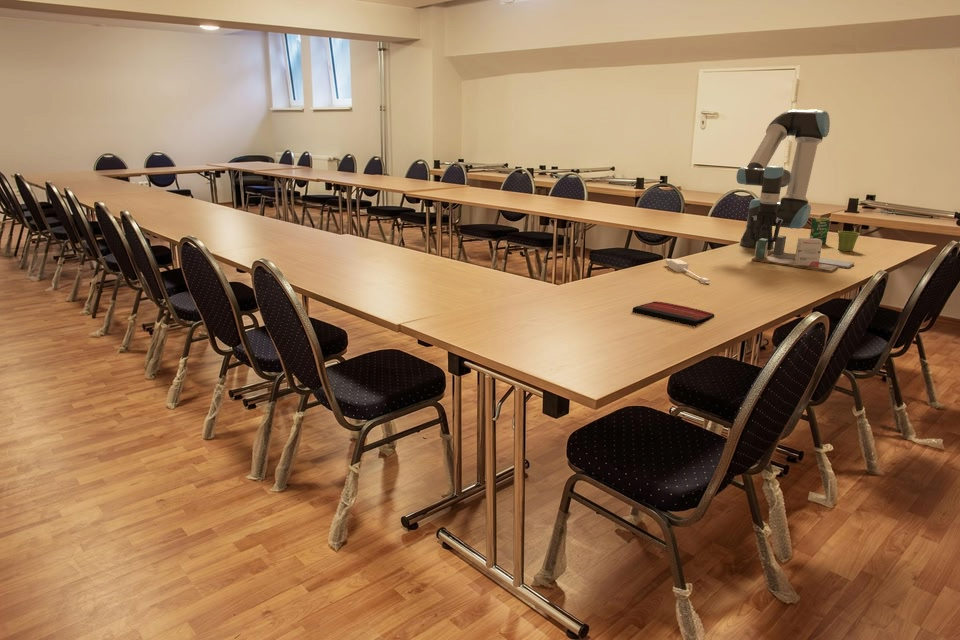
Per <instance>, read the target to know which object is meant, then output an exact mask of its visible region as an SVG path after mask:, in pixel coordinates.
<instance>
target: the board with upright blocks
mask: <svg viewBox="0 0 960 640" xmlns="http://www.w3.org/2000/svg"><path fill="white" fill-rule="evenodd" d="M767 242H768V239H763V238H761V239H758V243H757V249H756V248H755V249H756V256H754V257H752V258H751V261H755V262H761V263H767V264H774V265H780V266H787V267H794V268H801V269H807V270H814V271H819V272H825V273H832V272H834V271H836V270H838V268H839V267H838V266H832V265H825V264H819V265H818V266H807V265H797V264H795V263H794V262H795V260H791V259H784V258H777V257H771V256H770V255H768V256H767V257H766V258H764V252H765V245H766V243H767Z"/></svg>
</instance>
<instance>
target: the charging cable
mask: <svg viewBox="0 0 960 640" xmlns="http://www.w3.org/2000/svg"><path fill="white" fill-rule="evenodd" d="M664 264H666V265H668V268H669V269H671V270H672V271H675V273H677V272H678V273H679V272H686V273H687V274H690V275H692V276H693V277H695V278H697V279H699V283H701V284H703V285H704V284H709V285H710V284H711V281H710V279H709V278H707V277H701V276H699V275H697V274H695V273H694V272H692V271H691V270H689V264H688V262H686V261H683V260H682V259H676V258H672V259H671V258H667V259H666V258H665V263H664Z"/></svg>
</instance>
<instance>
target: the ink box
mask: <svg viewBox="0 0 960 640" xmlns="http://www.w3.org/2000/svg"><path fill="white" fill-rule="evenodd" d="M822 247H823V244H822V240H820V239H810V237H809V238H807V237H805V238H803V237H802V238H801V237H798V238H797V244H796V250H795V254H796V256H795V262H794V263H795V264H797V265H807V266H818V265H819V259H820V258H821V251H822Z"/></svg>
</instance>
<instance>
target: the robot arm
mask: <svg viewBox="0 0 960 640" xmlns="http://www.w3.org/2000/svg"><path fill="white" fill-rule="evenodd" d="M830 125H831V123H830V115H829V112H828V111H826V110H822V109H791V110H787V111H784V112H782V113H781V114H779V115H778V116H776V117H775V118H774V119H773V120H772V121H771V122H770V123H769V124H768V125H767V128H766V129H765V135H764V137H763V139H762V141H761V142H760V144H759V145H758V148H757V150H756V151H755V153H754V154H753V156H752V158H751V159H750V161H749V163H748V164H747V166H746V167H745V166H742V167H740V168H738V170H737V172H736V182H737V183H738V184H740V185H744V186H757V187H761V191H760V197H759V198H754V199H751V200H750V202H749V207H748V213H747V218H746V219H747V220H746V228H745V230H744V233H743V234H742V237H741V239H740V242H739V245H740V246H742V247H746V248H752V249H754V254H753V255H754V257H755V256H756V249H757V243H758V239H761V238H763V239H768V242H767V243H766V245H765V252H764V258H766V257H767V256H769V255H768V254H769V251H770V250H772V248H773V249H774V245H775V241H777V238H778V236H779V233H780V230H781V228H787V229H792V230H793V229H796V230H797V229H798V230H800V229H802V228H803V227H805V225H806V224H807V223H808V220H809V217H810V216H811V210H812V207H811V205H810V204H809V199H808V198H807V197H806V196H807V192H808V188H809V183H810V179H811V174H812V170H813V167H814V166H813V165H814V161H815V158H816V153H817V149H818V145H820V143H822V142H823V139H824V138H826V137H828V136H829V133H830V127H831V126H830ZM788 136H792V137H794V141H796V147H795V152H794V158H793V161H792V166H791V170H787V169H784V167H783V166H781V165H780V166H779V165H768V164H769V163H770V161H771V160H772V158H773V156H774V155H775V153H776V151H777V149H778V148H779V146H780V144H781V142H782V141H784V140H785V139H786V138H787V137H788ZM786 186H787V188H786V193H785V194H784V195H783V196H782V197H780V195H781V188H785V187H786ZM780 198H781V199H780ZM773 227H775V228H774V231H773Z"/></svg>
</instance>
